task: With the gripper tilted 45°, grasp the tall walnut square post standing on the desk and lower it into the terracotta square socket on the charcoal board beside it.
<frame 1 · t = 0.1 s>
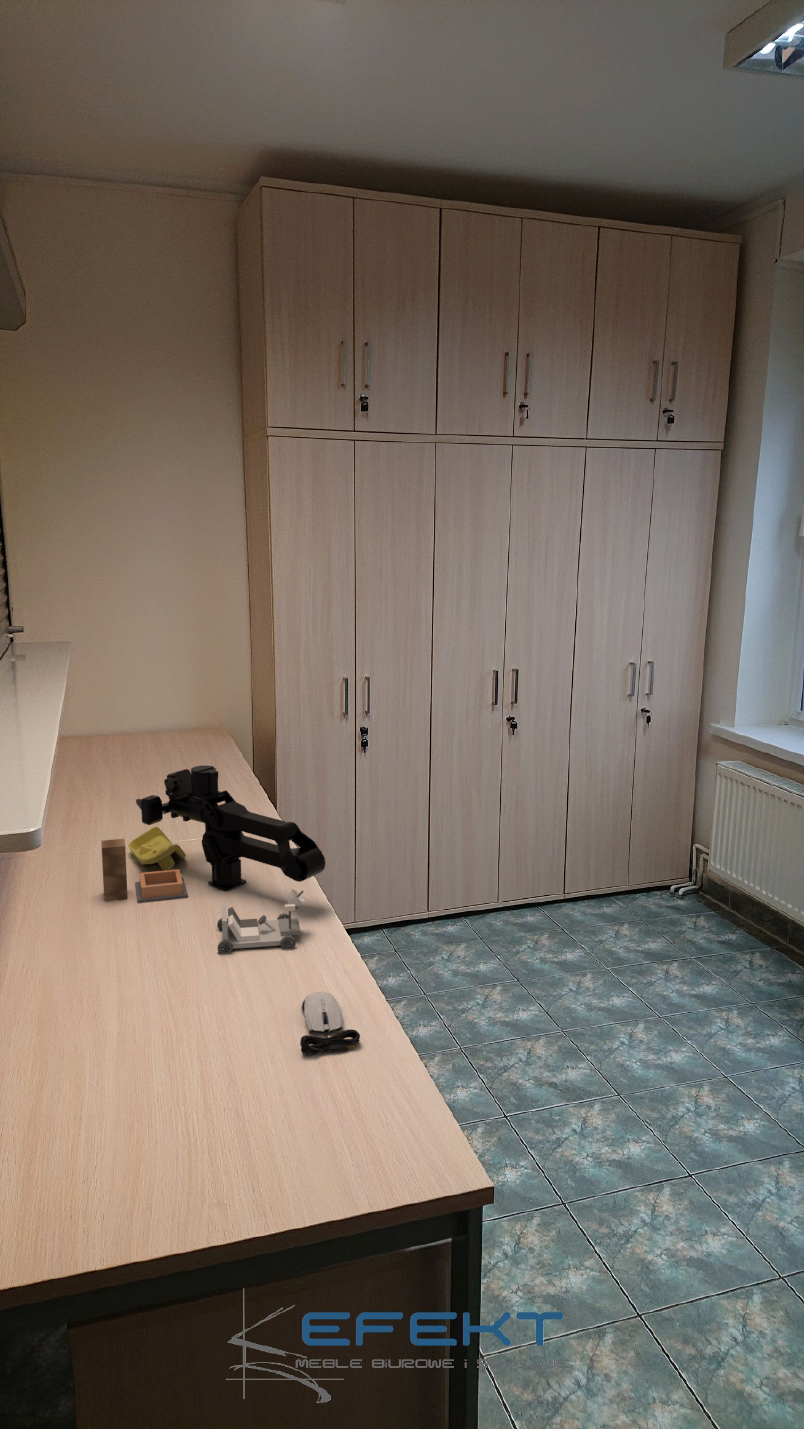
hand: (151, 796, 229), 17 cm above the table, tool horizontal, fingers open, 9 cm apart
computer mouse: (322, 1028, 159), on the table
walnut post: (115, 895, 210), on the table
plastic component: (158, 862, 232), on the table
socket board: (161, 890, 214), on the table
toy car: (262, 940, 191), on the table
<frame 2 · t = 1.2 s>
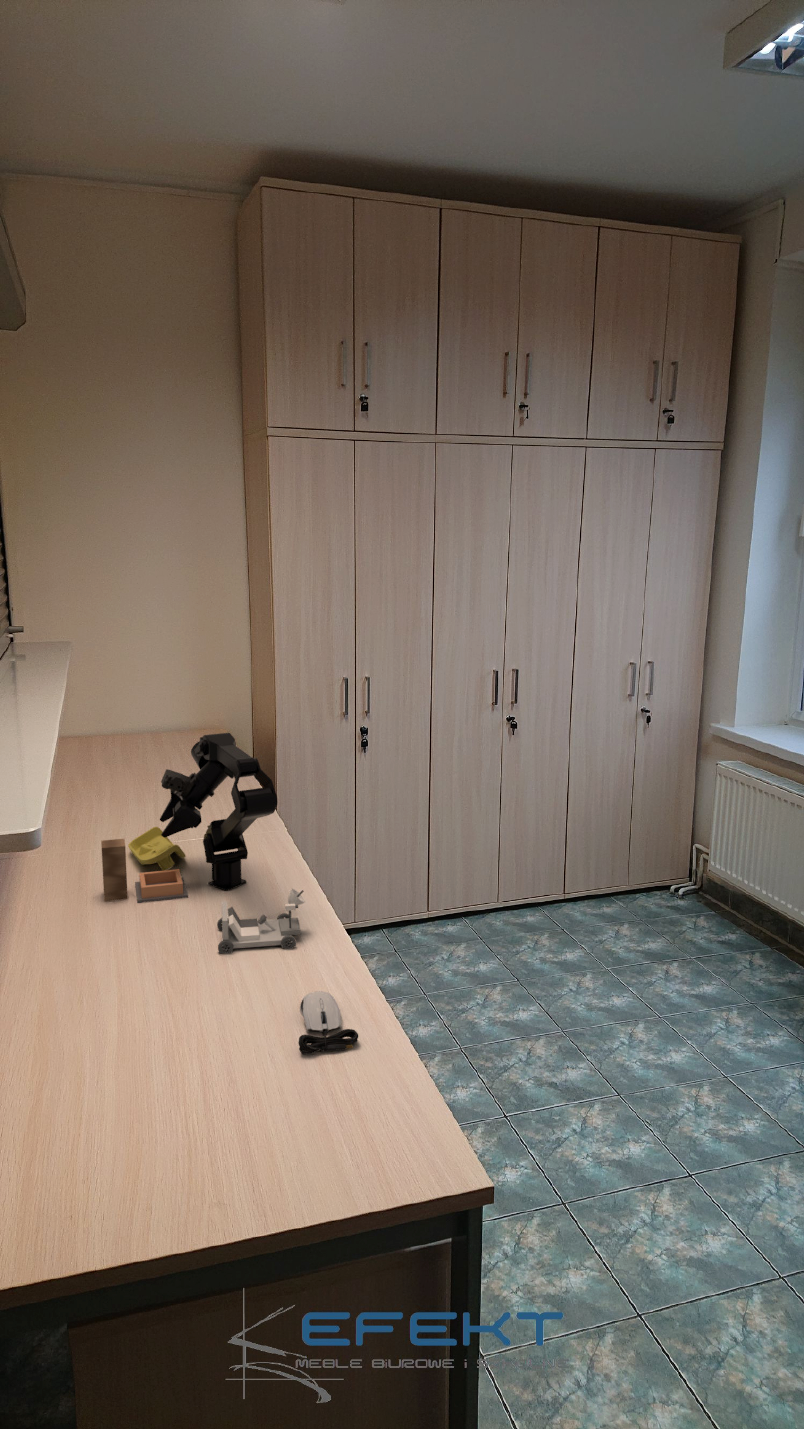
hand: (161, 828, 219), 12 cm above the table, tool tilted 45°, fingers open, 9 cm apart
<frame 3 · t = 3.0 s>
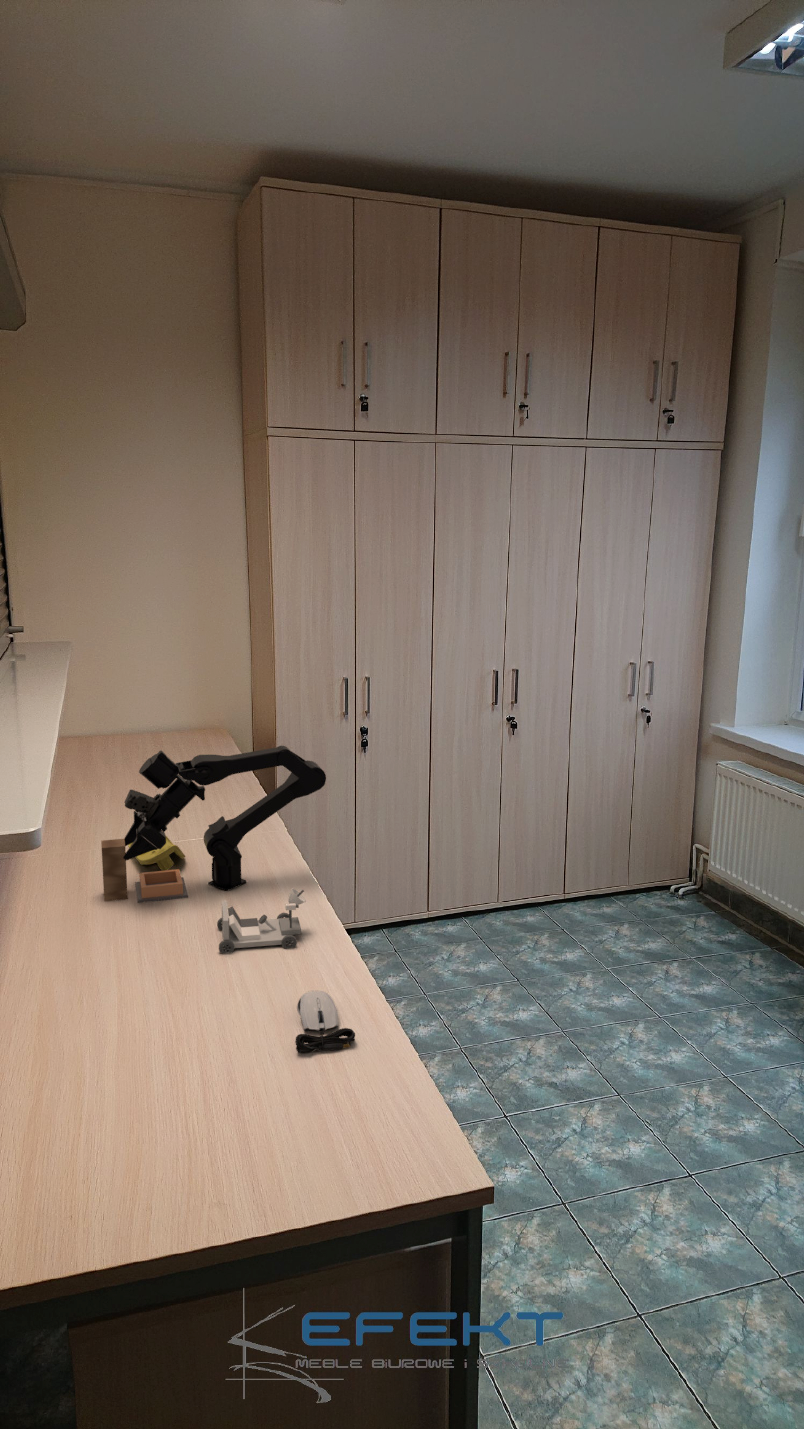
hand: (123, 851, 209), 10 cm above the table, tool tilted 45°, fingers open, 9 cm apart
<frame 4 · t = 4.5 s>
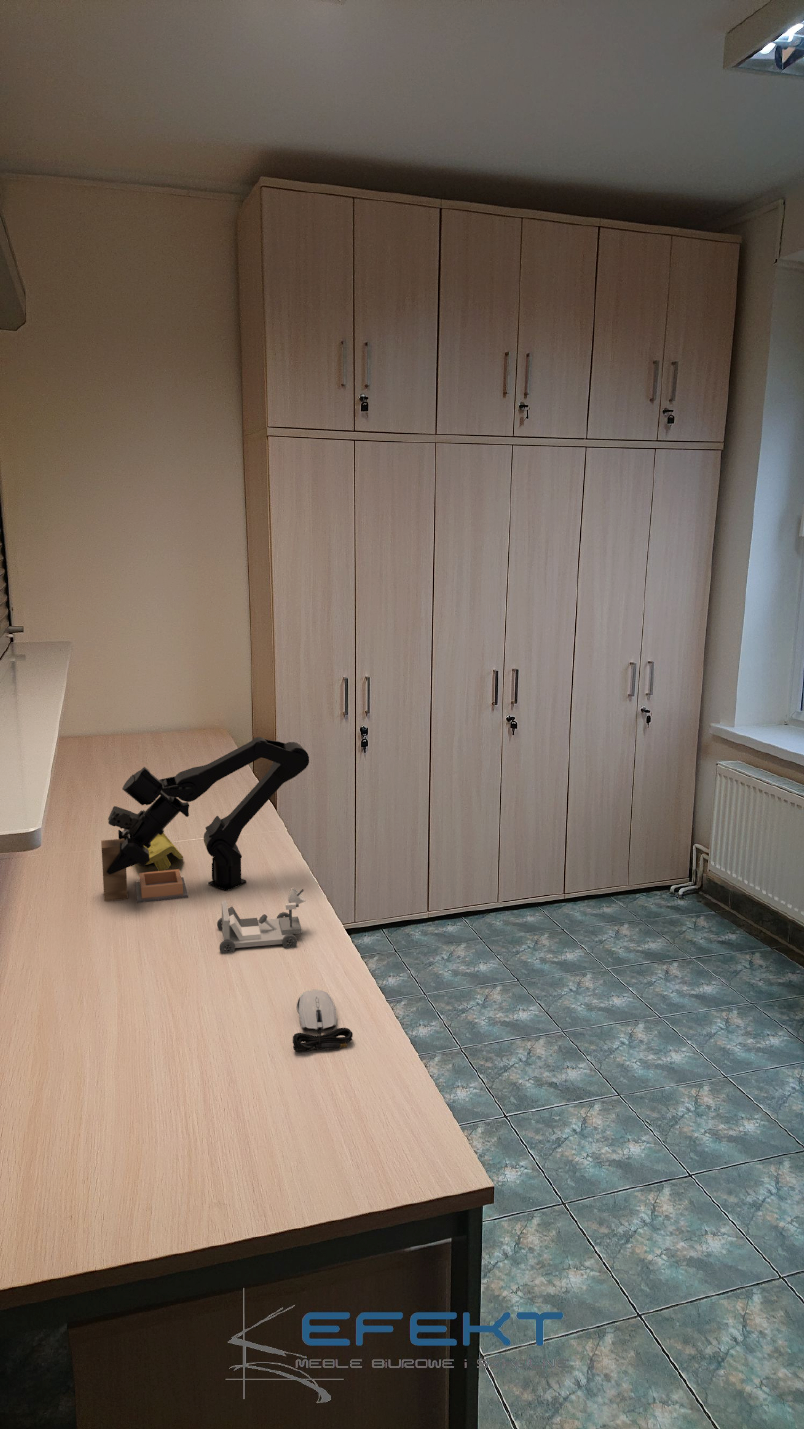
hand: (107, 868, 209), 7 cm above the table, tool tilted 45°, fingers closed on walnut post, 5 cm apart
walnut post: (115, 895, 210), on the table, touching gripper
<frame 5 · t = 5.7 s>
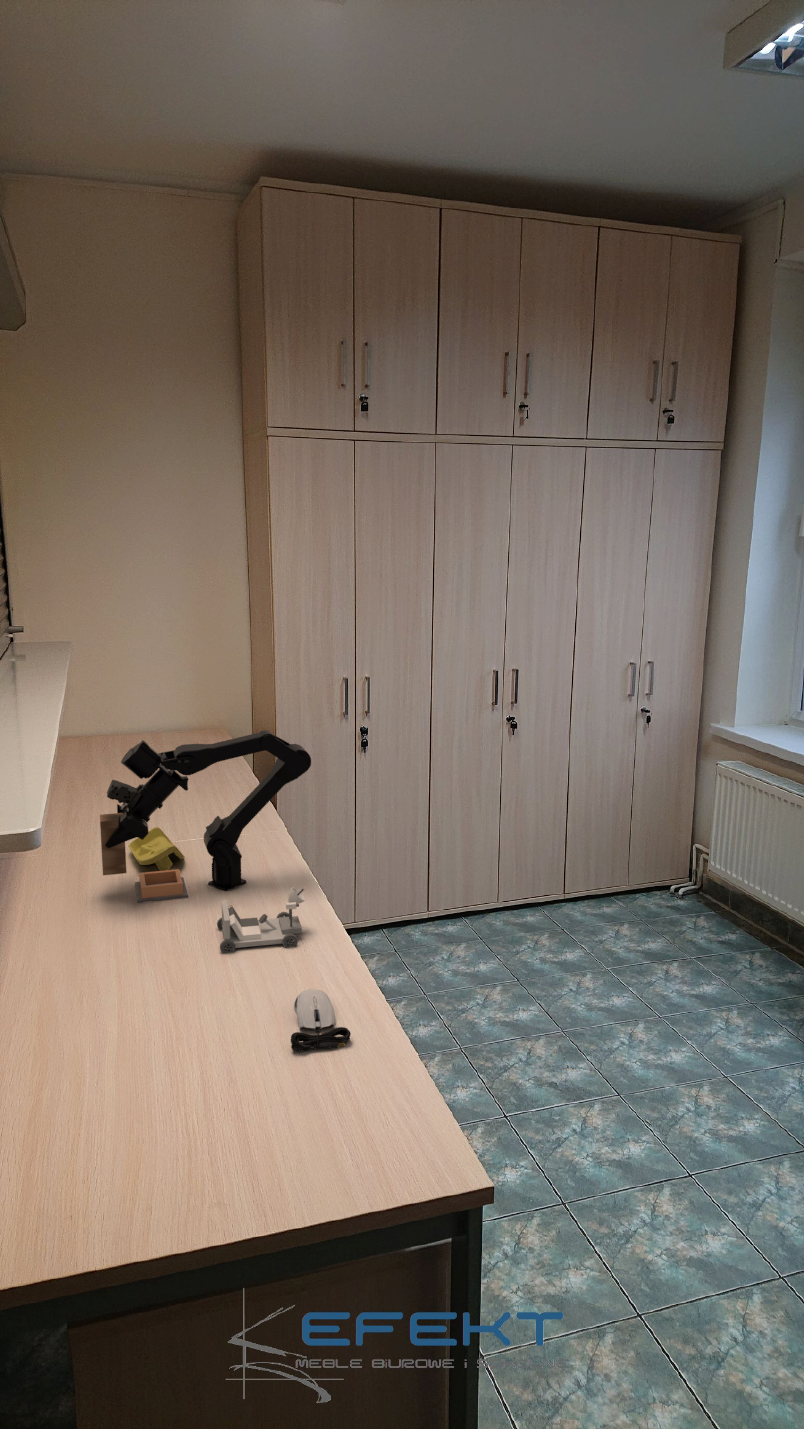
hand: (106, 842, 207), 13 cm above the table, tool tilted 45°, fingers closed on walnut post, 5 cm apart
walnut post: (114, 870, 209), point 6 cm above the table, touching gripper
when the fingers open (8 cm above the table, at t = 8.4 s): walnut post drops 1 cm, resting on socket board.
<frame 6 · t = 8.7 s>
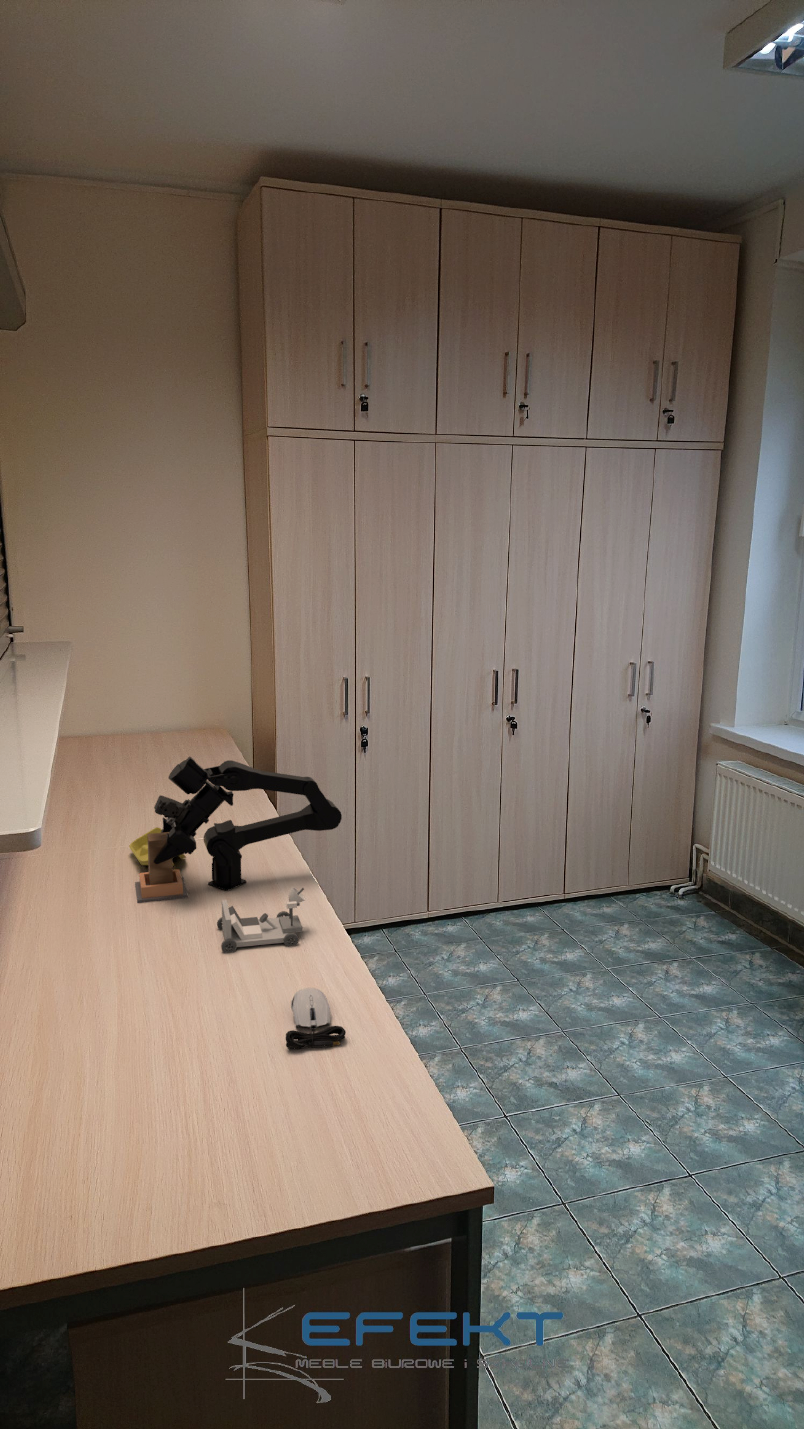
hand: (153, 857, 211), 8 cm above the table, tool tilted 45°, fingers open, 7 cm apart
walnut post: (161, 888, 213), point 1 cm above the table, touching socket board
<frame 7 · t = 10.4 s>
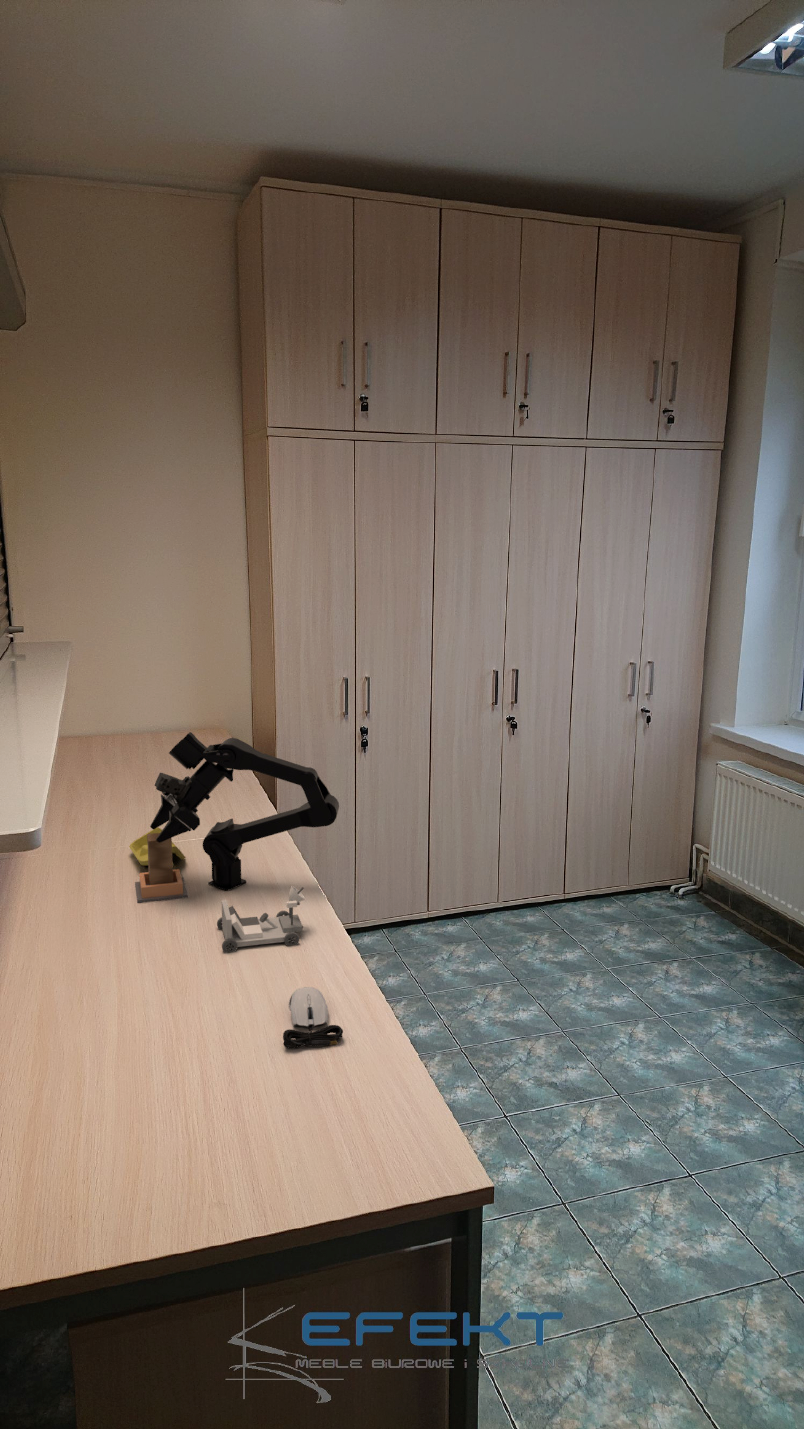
hand: (154, 834, 211), 14 cm above the table, tool tilted 45°, fingers open, 9 cm apart
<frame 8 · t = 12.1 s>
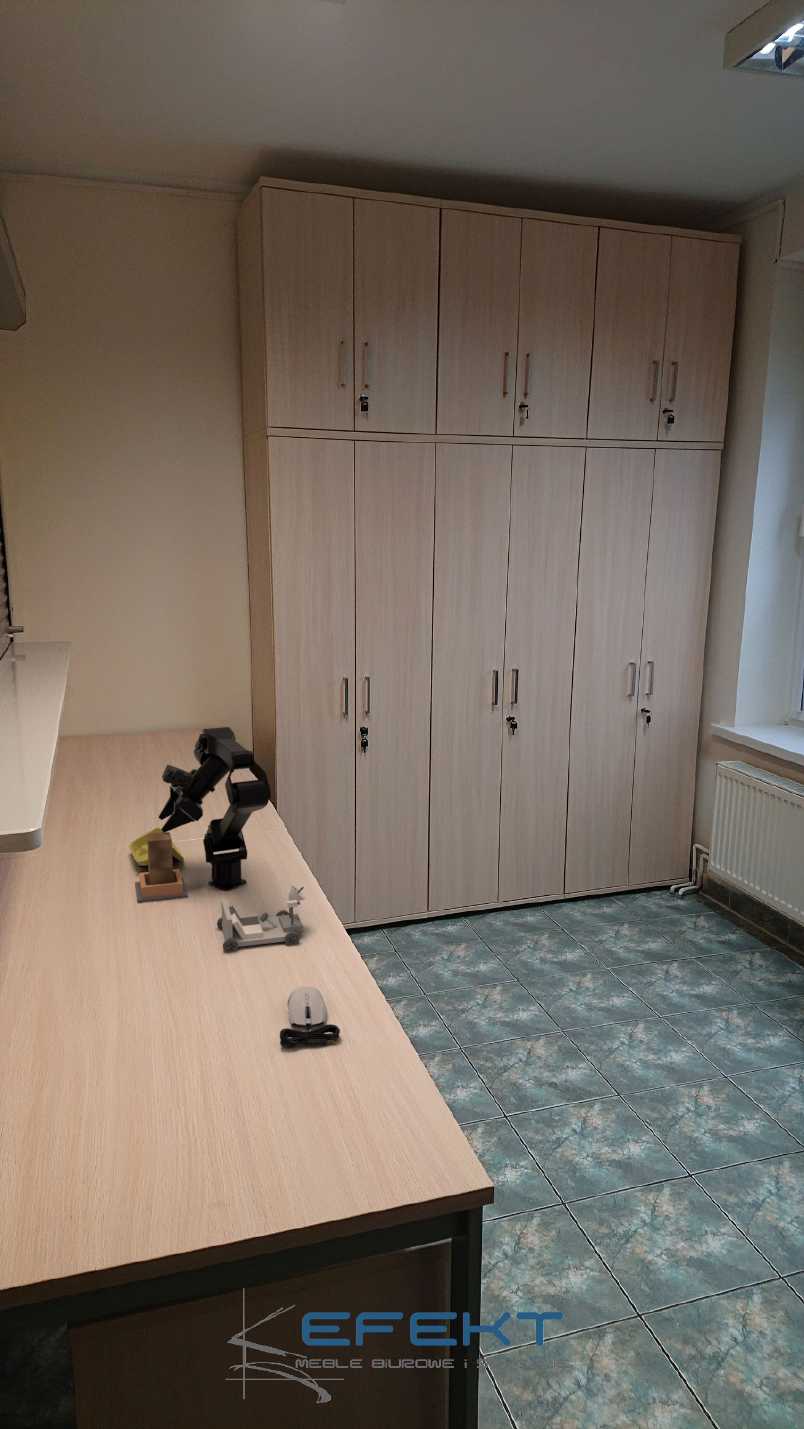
hand: (161, 824, 217), 14 cm above the table, tool tilted 45°, fingers open, 9 cm apart
at the end: walnut post 0.0 cm off-centre on the socket board, point 0.6 cm above the socket board's base; walnut post tilted 0°; the gripper is holding nothing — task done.
